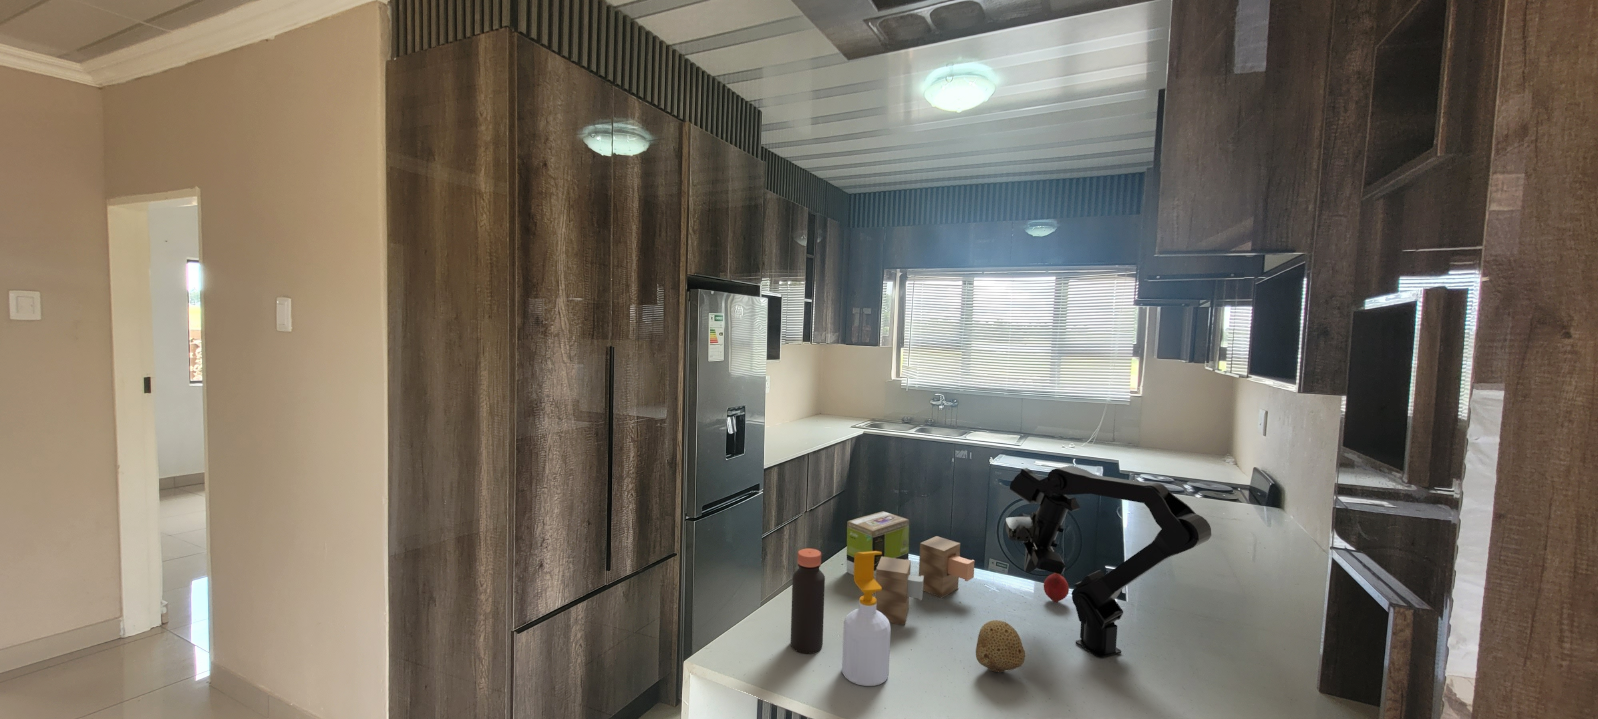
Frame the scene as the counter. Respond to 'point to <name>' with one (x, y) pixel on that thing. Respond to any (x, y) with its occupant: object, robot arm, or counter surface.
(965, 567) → the tan rectangular block
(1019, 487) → the robot arm
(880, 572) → the walnut block left
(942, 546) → the walnut block right
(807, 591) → the vinegar
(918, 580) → the grey key
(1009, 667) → the natural sponge
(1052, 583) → the onion
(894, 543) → the tea box
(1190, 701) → the counter surface
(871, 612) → the soap bottle
